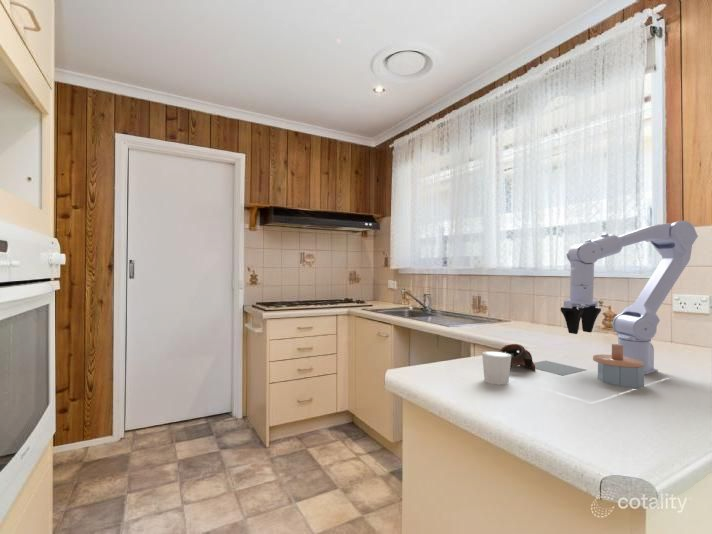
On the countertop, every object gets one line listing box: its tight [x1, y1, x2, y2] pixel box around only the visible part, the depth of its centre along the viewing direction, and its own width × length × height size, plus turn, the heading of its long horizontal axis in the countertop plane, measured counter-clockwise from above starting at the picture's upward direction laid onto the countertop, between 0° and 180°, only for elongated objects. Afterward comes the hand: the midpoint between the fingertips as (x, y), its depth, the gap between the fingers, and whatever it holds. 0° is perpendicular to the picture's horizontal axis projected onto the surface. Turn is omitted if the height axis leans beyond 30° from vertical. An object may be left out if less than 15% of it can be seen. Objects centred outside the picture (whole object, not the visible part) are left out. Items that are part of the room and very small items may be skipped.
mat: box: [533, 360, 587, 376], centre depth 106 cm, size 12×12×1 cm
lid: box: [592, 343, 643, 368], centre depth 94 cm, size 10×10×4 cm
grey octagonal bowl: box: [597, 362, 645, 390], centre depth 93 cm, size 9×9×5 cm
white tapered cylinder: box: [481, 350, 511, 385], centre depth 93 cm, size 7×7×7 cm
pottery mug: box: [498, 343, 536, 372], centre depth 105 cm, size 12×10×8 cm
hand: (580, 332), depth 106 cm, fingers open, 7 cm apart
